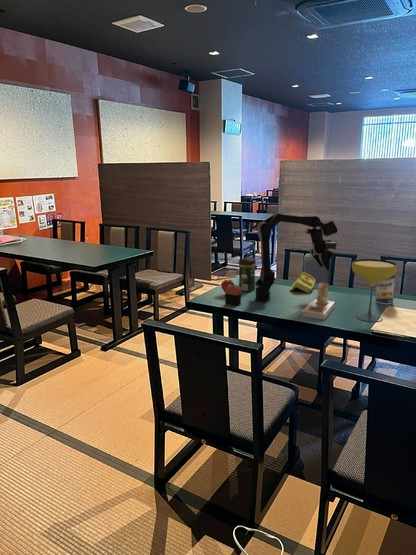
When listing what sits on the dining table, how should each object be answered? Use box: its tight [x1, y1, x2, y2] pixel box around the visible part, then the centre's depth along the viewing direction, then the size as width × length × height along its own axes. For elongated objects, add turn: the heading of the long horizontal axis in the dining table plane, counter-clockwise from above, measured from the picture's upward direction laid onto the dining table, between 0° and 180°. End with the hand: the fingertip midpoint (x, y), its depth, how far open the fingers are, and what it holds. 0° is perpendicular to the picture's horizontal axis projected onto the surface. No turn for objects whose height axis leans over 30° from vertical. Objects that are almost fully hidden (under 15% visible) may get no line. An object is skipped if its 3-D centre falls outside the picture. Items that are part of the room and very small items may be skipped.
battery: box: [224, 284, 242, 307], centre depth 200 cm, size 4×7×10 cm, turn 59°
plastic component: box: [289, 271, 316, 294], centre depth 229 cm, size 20×7×10 cm
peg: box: [316, 282, 330, 306], centre depth 193 cm, size 4×4×12 cm
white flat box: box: [301, 298, 336, 321], centre depth 190 cm, size 10×21×3 cm, turn 151°
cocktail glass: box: [351, 258, 398, 323], centre depth 178 cm, size 18×18×25 cm
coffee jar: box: [238, 256, 256, 293], centre depth 225 cm, size 10×8×19 cm
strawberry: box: [220, 278, 235, 293], centre depth 216 cm, size 6×8×10 cm
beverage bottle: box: [374, 274, 396, 305], centre depth 201 cm, size 8×8×20 cm
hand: (324, 268), depth 208 cm, fingers open, 9 cm apart
